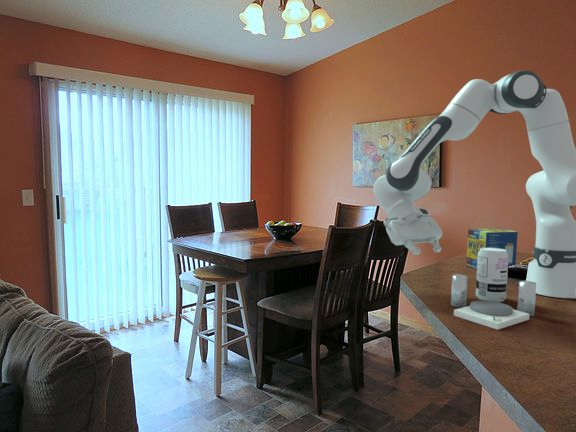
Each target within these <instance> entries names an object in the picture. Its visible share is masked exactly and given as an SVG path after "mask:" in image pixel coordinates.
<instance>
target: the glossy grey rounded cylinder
mask: <svg viewBox="0 0 576 432" xmlns="http://www.w3.org/2000/svg"><path fill="white" fill-rule="evenodd" d="M467 293H468V275H466V274H459V273H454V274H452V275H451V294H450V297H451V298H450V305H451V306H452V307H454V306H455V307H456V308H463V307H467V298H468V297H467V295H468V294H467Z"/></svg>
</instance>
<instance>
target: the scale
mask: <svg viewBox="0 0 576 432" xmlns="http://www.w3.org/2000/svg"><path fill="white" fill-rule="evenodd" d="M453 316H454V317H457V318H460V319H463V320H467V321H469V322H473V323H476V324H477V325H478V324H479V325H481V326H485V327H488V328H491V329H495V330H497V331H498V330H502V329H504V328H507V327H510V326H513V325H516V324H519V323H523V322H525V321H529V320H530V316H529V314H528V313H525V312H521V311H517V309H514V307H512V306H511V305H509V304H506V303H504V302H503V303H502V302H494V301H484V300H474V301H471V302H470V304H469V305H468V306H467V305H466V307H458V308H456V309H454V310H453Z"/></svg>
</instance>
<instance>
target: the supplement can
mask: <svg viewBox="0 0 576 432" xmlns="http://www.w3.org/2000/svg"><path fill="white" fill-rule="evenodd" d="M508 257H509V255H508V253H507V251H506V250H505V249H500V248H480V251H479V253H478V260H477V269H476V282H475V284H476V286H475V296H476V297H477V299H478V300H480V301H494V302H499V303H502V302H503V303H504V301H505V300H506V299H507V288H508V273H509V272H508V271H509V270H508Z"/></svg>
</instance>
